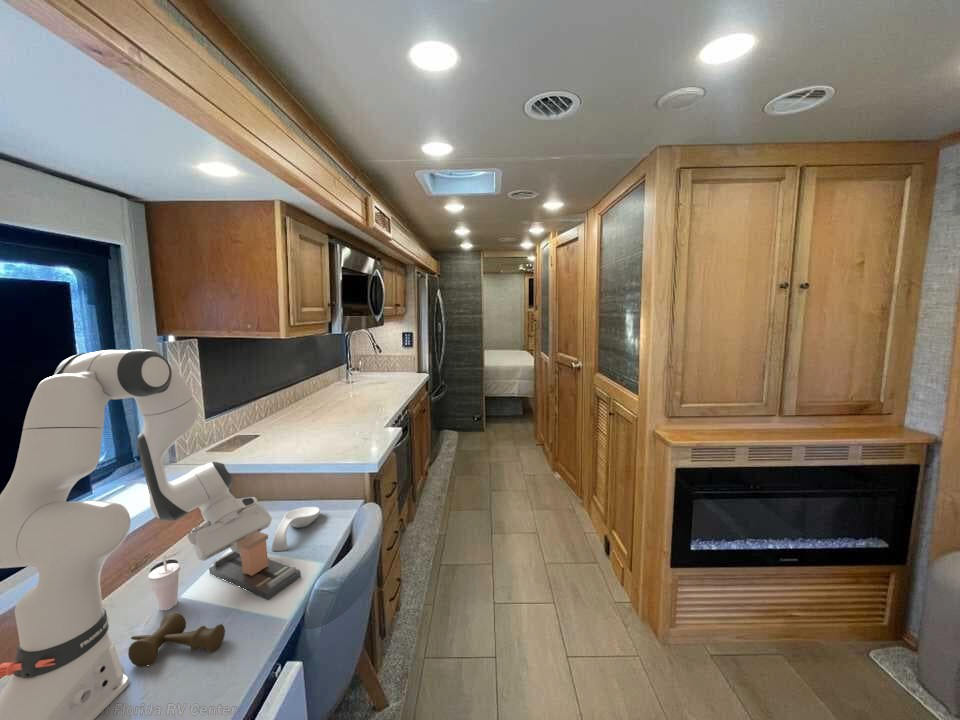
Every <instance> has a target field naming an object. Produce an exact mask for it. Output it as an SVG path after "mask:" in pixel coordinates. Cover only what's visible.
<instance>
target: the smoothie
mask: <svg viewBox="0 0 960 720" xmlns="http://www.w3.org/2000/svg"><path fill="white" fill-rule="evenodd" d="M166 558H167V557H166V554H165V553H163V554H162V563H163V565H161V566H158V567H156V568H154V569H152V571H150V573H148V582H150V584H151V586H152V589H153V593H154V596H155V599H156V602H157V606H158V608H159V610H160V611H161V610H165V609H168V608H171V607H173V606H174V605H175V606H176V605H177V604H178V603H177V602H178V601H179V572H180V570H181V567H180V564H179V563H176V562H172V563H167V559H166ZM175 606H174V607H175ZM174 607H173V608H174ZM171 609H172V608H171ZM168 610H169V609H168ZM165 611H166V610H165Z"/></svg>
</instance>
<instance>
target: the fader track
mask: <svg viewBox="0 0 960 720" xmlns="http://www.w3.org/2000/svg"><path fill="white" fill-rule="evenodd" d="M212 563H213V564H212V565H211V566H210V567H208V569H209V570H208V571H209V575H210V574H212V575H214V576H216V577H215V578H217V577H219V578H221V579H224V580H226V581H228V582H231V583H233V584H235V585H237V586H240V587H241V588H240V589H242V588H244V589H246V590H247V592H248V591H249V593H251V594H253V595H255V596H258V597H260V598H262V599H265V600H267V601H269V600H271V599H272V598H273V597H275V596H276V595H278V594H279V593H280V592H282V591H284V590H285V589H286V588H287V587H290V585H293V583H295V582H296V581H298V580H299V579H301V577H302V573H301V570H300V569H298V568H296V566H290V565H287V564H284V563H281V562H279V561H276V560H273V559H270V558H268V566H267V567H265V568H264V569H262V570H261V571H259V572H257V573H256V574H254V575H252V576H251V575H248V574H246V573H243V570H242V561H241V556H240V554H239V553H237V552H234V551H232V550H231V551H230V552H228V553H226V554H225V555H223V556H221V557H219V558H217V559H215V560H213V561H212ZM212 575H211V576H212ZM214 576H213V577H214ZM219 578H218V579H219ZM221 579H220V580H221ZM224 580H223V581H224ZM226 581H225V582H226ZM228 582H227V583H228ZM233 584H232V585H233ZM235 585H234V586H235ZM237 586H236V587H237ZM244 589H243V590H244ZM246 590H245V591H246Z"/></svg>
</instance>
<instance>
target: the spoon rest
mask: <svg viewBox="0 0 960 720" xmlns="http://www.w3.org/2000/svg"><path fill="white" fill-rule="evenodd" d="M320 513H321V509H320V507H317V506H304V507H299V508H296V509H293V510H290V511H288V512H287V513H285V514H284V516H283V517H282V520H281V521H280V522H279V525H278V526H277V529H276V531H275V533H274V537H273V540H272V546H271V551H272V552H280V551H287V550H288V543H287V532H288V528H289V527H290V526H291V527H294V528H296V529H298V528H300V529H301V528H304V527H307V526H309V525H311V524H312V523H313V522H315V520H316V519H318V517H319V514H320Z"/></svg>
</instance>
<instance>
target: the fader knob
mask: <svg viewBox="0 0 960 720" xmlns="http://www.w3.org/2000/svg"><path fill="white" fill-rule="evenodd" d="M267 540H269V534H266V533H264V532H262V531H260V532H258V531H257V532H255V533H253V534H251V535H249V536H247V537H245V538H243V539H242V540H240V541H238V542H237V546H238V547H240V551H241V561H242V570H243V573H246V574H248V575H251V576H252V575H254V574H256V573H257V572H259V571H261V570H262V569H264V568H265V567H267V566H268V559H269V558H268V547H267Z"/></svg>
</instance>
